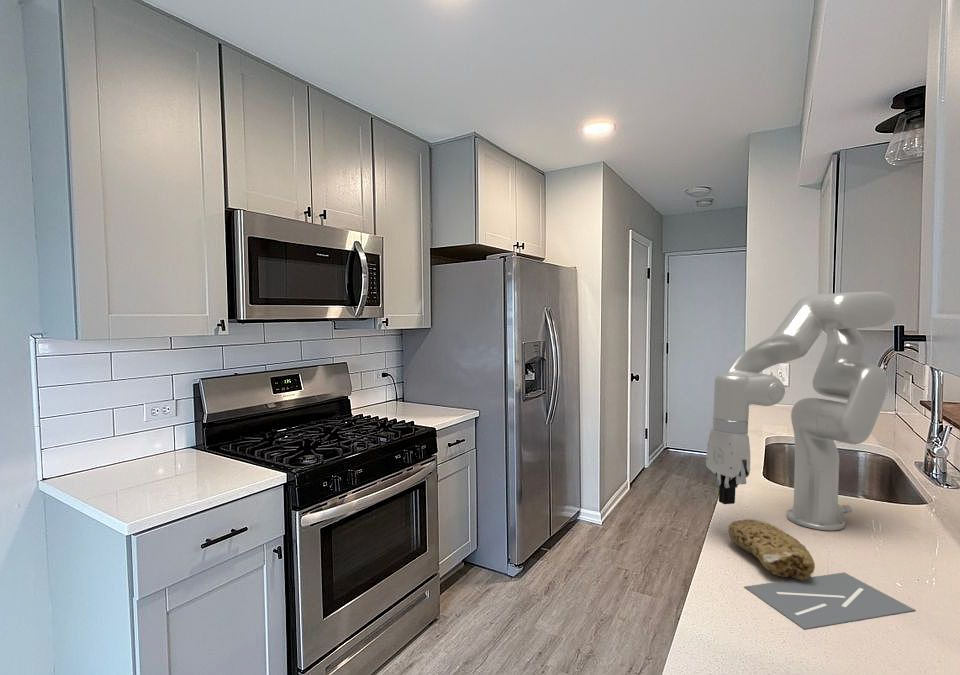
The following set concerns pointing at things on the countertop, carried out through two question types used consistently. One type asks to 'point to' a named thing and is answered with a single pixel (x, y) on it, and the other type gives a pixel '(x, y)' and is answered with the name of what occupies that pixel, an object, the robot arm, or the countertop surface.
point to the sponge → (773, 548)
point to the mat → (827, 600)
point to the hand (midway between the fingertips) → (726, 502)
